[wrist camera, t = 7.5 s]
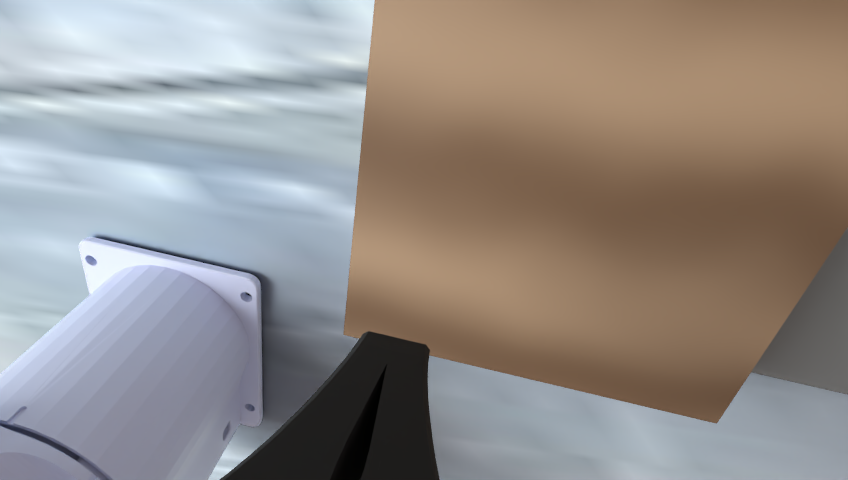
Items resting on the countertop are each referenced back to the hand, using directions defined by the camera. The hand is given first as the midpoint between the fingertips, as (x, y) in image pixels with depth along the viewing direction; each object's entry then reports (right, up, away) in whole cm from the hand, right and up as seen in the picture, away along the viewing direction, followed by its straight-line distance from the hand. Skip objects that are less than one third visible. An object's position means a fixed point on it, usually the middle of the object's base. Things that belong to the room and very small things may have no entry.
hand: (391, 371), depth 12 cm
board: (+6, +6, +7) cm, 10 cm away
